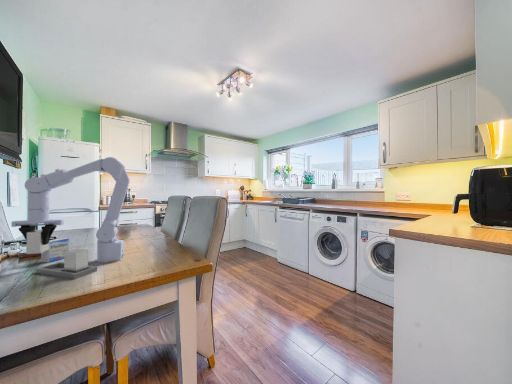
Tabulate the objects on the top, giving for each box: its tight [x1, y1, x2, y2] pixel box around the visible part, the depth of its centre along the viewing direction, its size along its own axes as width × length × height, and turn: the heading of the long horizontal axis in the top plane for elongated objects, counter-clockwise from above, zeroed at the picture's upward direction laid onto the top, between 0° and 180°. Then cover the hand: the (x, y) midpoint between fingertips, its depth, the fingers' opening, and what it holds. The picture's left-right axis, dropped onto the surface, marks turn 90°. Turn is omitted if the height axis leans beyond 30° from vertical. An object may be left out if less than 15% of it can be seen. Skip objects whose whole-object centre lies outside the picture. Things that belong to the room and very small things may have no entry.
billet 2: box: [63, 248, 89, 273], centre depth 74 cm, size 6×4×8 cm
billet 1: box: [25, 229, 49, 255], centre depth 80 cm, size 6×4×8 cm
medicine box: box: [40, 237, 70, 263], centre depth 92 cm, size 8×4×9 cm, turn 168°
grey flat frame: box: [35, 261, 98, 280], centre depth 75 cm, size 18×7×2 cm, turn 75°
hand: (38, 244), depth 80 cm, fingers closed on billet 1, 4 cm apart
